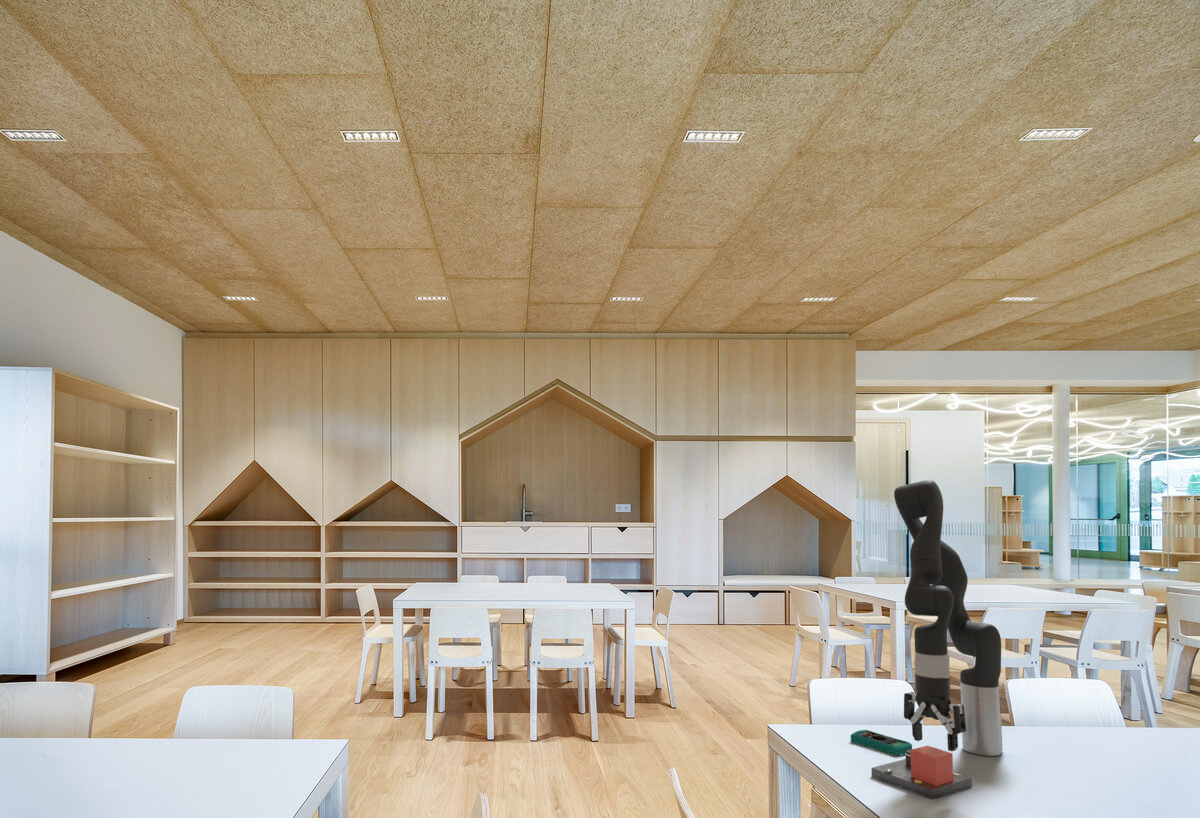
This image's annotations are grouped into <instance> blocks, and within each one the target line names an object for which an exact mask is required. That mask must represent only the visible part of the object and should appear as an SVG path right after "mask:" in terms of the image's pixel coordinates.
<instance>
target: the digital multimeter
mask: <svg viewBox="0 0 1200 818" xmlns="http://www.w3.org/2000/svg"><path fill="white" fill-rule="evenodd" d="M852 742H855V743H858V744H857V745H859V744H861V745H860V746H862V745H864V746H863V747H865V746H867V747H866V748H869V747H871V748H870V749H872V748H874V749H873V750H875V749H877V750H876V751H878V750H881V751H880V752H882V751H883V753H885V752H887V753H886V754H888V753H889V754H888V755H891V754H893V755H892V756H894V755H896V756H895V757H898V756H897V755H901V754H905V753H906V752H905V751H908V750H912V749H913V744H912V743H911V742H909V741H907V740H902V739H898V738H895V737H892V736H888V735H885V734H881V733H878V732H875V731H871V730H869V729H861V730H857V731H854V732H853V733H851V734H850V743H852ZM855 743H854V744H855ZM901 756H902V755H901Z"/></svg>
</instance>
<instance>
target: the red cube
mask: <svg viewBox="0 0 1200 818" xmlns="http://www.w3.org/2000/svg"><path fill="white" fill-rule="evenodd" d="M953 761H954V757H953V752H951V751H950V752H949V751H948V750H947V751H946V750H943V749H939V748H937V747H934V746H931V745H925V746H921V747H916V748H912V750H911V777H913V778H916V779H920V780H922V781H924V782H927V783H929V784H932V785H935V786H938V785H941V784H944V783H948V782H951V781H953V772H954V764H953Z"/></svg>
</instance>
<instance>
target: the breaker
mask: <svg viewBox="0 0 1200 818" xmlns="http://www.w3.org/2000/svg"><path fill="white" fill-rule="evenodd" d="M905 752H906V754H905V755H904V756H905V759H906V764H907V765H910V766H911V750H908V751H905Z"/></svg>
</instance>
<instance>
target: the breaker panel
mask: <svg viewBox="0 0 1200 818" xmlns="http://www.w3.org/2000/svg"><path fill="white" fill-rule="evenodd" d="M871 778H875V779H877V780H879V781H882V782H885V783H888V784H890V785H892V786H895V787H898V788H901V789H903V790H906V791H909V792H912V793H914V794H917V795H920V796H922V797H925V798H928V799H931V800H935V799H938V798H941V797H944V796H948V795H950V794H954V793H958V792H960V791H963V790H967V789H970V788H972V787H973V779H972V778H973V777H970V776H968V775H964V774H962V773H958V772H955V771H953V781H951V782H948V783H944V784H941V785H938V786H935V785H932V784H929V783H927V782H924V781H922V780H920V779H916V778H913V777H911V766H910V765H907V764H906V758H904V759H900V760H897V761H893V762H889V763H885V764H884V763H883V764H880V765H877V766H872V767H871Z"/></svg>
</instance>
